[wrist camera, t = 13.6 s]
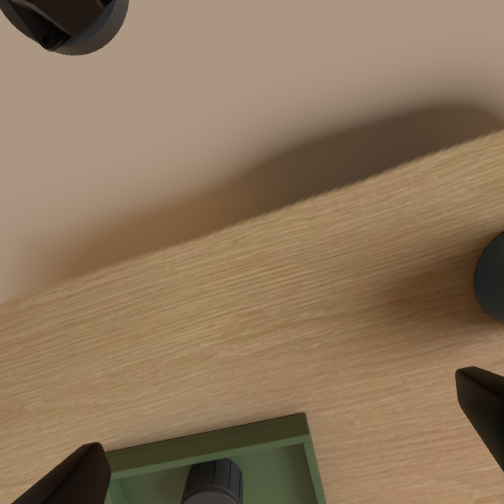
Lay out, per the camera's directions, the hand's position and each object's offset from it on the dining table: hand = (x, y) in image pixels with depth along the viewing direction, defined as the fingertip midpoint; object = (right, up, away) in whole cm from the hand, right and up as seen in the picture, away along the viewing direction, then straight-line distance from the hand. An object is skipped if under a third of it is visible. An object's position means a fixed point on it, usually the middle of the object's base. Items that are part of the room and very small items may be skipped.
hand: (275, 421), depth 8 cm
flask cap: (-3, -13, +13) cm, 19 cm away
